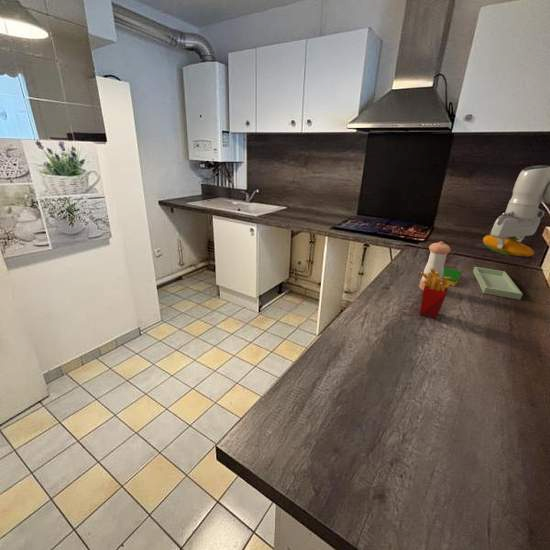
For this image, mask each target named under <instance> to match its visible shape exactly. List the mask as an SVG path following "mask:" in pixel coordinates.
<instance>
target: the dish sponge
mask: <svg viewBox="0 0 550 550" xmlns="http://www.w3.org/2000/svg"><path fill="white" fill-rule="evenodd" d="M462 274H463V271H461V270H457V269H452V268H448V267H444V271H443V277H450V276H451V279H448V280H446V284H445V285H449V286H452V287H455V286H457V283H458V282H459V280H460V278H461V277H462ZM443 277H442V280H443ZM442 280H441V281H442Z"/></svg>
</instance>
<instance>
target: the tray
mask: <svg viewBox="0 0 550 550" xmlns="http://www.w3.org/2000/svg"><path fill="white" fill-rule="evenodd" d="M472 273H473V275H474V277H475V278H476V281H477V283H478V285H479V287H480V289H481V291H482V293H483V294H486V295H491V296H496V297H503V298H506V299H507V298H508V299H514V300H522V298H523V292H522V291H521V290H520V288H519V287H518V286H517V285H516V284H515V283H514V281H513V280H512V278H511V277H510V276H509V274H508V273H507V272H506V271H505V270H499V269H492V268H487V267H486V268H485V267H479V266H474V267H473V270H472Z"/></svg>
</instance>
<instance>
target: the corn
mask: <svg viewBox="0 0 550 550" xmlns="http://www.w3.org/2000/svg"><path fill="white" fill-rule="evenodd" d="M516 240H520V239H518V238H517V237H508V238H506V240H504V244H506V245H505V247H504V248H502V249H500V248H498V247H497V246H498V238H496V237H492V236H491V233H487V234H486V235H484V236H483V238H482V243H483V246H485V247H486V248H487V249H489V250H491V251H493V252H495V253H499V254H501V255H503V256H510V255H512V256H514V257H515V256H516V257H520V258H521V257H522V258H528V257H531V256H534V254H535V251H534V249H532V248H531V247H530V246H528V245H526V244H525V243H522V242H518V241H516Z"/></svg>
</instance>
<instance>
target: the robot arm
mask: <svg viewBox="0 0 550 550" xmlns="http://www.w3.org/2000/svg"><path fill="white" fill-rule="evenodd" d="M541 203H545V204H548V205H550V165H547V164H544V165H543V164H541V165H531V166H527V167H525V168H523V169H522V170H521V171H520V173H519V174H518V177H517V178H516V181H515V183H514V186H513V189H512V195H511V197H510V199H509V200H508V203H507V206H506V209H505V212H502V214H500V215H499V216H498V218H496V220H495V221H494V223H493V226H492V228H491V231H490V235H491V236H492V237H496V238H498V246H497V247H498V248H500V249H502V248H504V247H505V245H506V244H504V240H506V238H508V237H516V238H518V239H520V240H516V241H518V242H520V243H522V241H523V240H524V239H525V237H527V236H528V237H529V236H533V235H534V234H535V233H536V232H537V230H538V228H539V226H540V223H541V218H543V217H544V215H545V211H544V210H542V209H541V208H539V207H540V204H541Z"/></svg>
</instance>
